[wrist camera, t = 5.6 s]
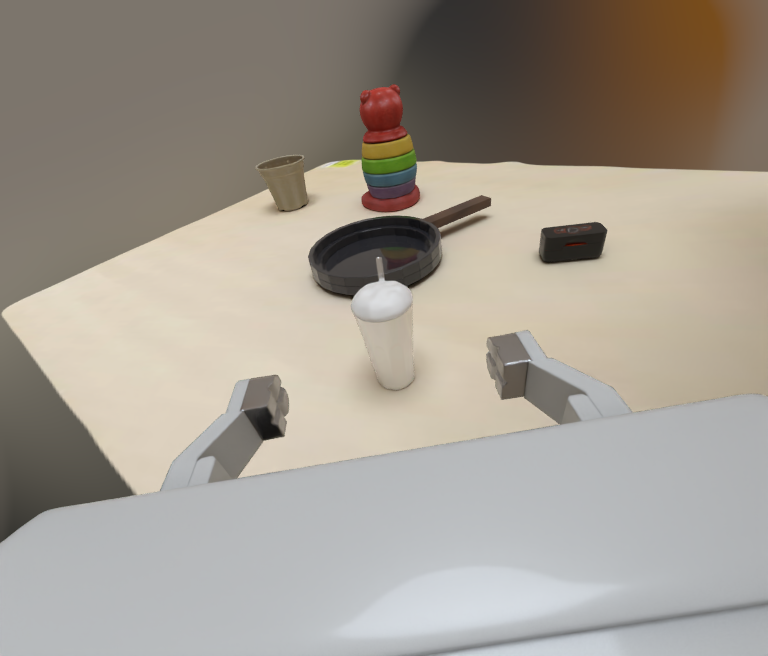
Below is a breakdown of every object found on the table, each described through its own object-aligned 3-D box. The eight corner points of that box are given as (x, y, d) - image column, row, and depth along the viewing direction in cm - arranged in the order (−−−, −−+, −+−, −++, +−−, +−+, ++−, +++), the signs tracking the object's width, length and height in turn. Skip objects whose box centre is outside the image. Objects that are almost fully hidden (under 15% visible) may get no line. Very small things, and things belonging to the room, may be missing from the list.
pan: (396, 225, 57) (394, 206, 55) (469, 260, 44) (469, 238, 42) (297, 264, 51) (290, 245, 49) (349, 318, 39) (342, 295, 37)
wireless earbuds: (610, 258, 40) (617, 231, 38) (543, 264, 41) (546, 238, 39) (594, 240, 43) (600, 214, 41) (533, 246, 44) (536, 221, 42)
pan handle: (427, 232, 48) (427, 224, 48) (419, 228, 50) (418, 220, 49) (490, 206, 52) (491, 197, 51) (481, 203, 54) (481, 195, 53)
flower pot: (303, 194, 78) (290, 152, 73) (324, 202, 72) (312, 156, 66) (264, 209, 74) (248, 166, 69) (282, 218, 68) (266, 171, 63)
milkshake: (420, 350, 33) (408, 253, 27) (423, 394, 29) (410, 291, 23) (372, 354, 34) (350, 260, 27) (369, 398, 29) (341, 299, 23)
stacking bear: (412, 187, 70) (400, 79, 59) (431, 202, 62) (422, 80, 51) (359, 201, 68) (337, 93, 57) (373, 218, 61) (350, 96, 50)
